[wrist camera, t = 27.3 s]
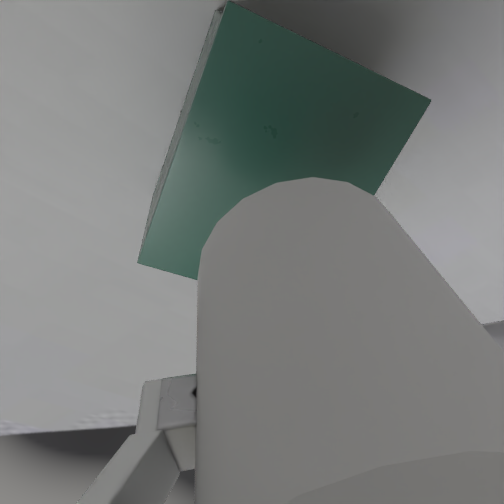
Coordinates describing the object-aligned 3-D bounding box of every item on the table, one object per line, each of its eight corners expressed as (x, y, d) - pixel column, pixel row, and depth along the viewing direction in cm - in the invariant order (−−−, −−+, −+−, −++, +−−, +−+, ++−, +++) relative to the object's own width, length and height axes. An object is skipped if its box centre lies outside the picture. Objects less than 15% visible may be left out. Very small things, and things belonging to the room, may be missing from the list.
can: (337, 122, 14) (732, 528, 3) (423, 274, 17) (737, 688, 7) (155, 245, 15) (64, 756, 5) (268, 360, 19) (344, 791, 9)
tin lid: (227, -1, 19) (228, 0, 18) (426, 97, 22) (432, 100, 22) (138, 256, 26) (136, 263, 25) (302, 303, 29) (304, 310, 28)
